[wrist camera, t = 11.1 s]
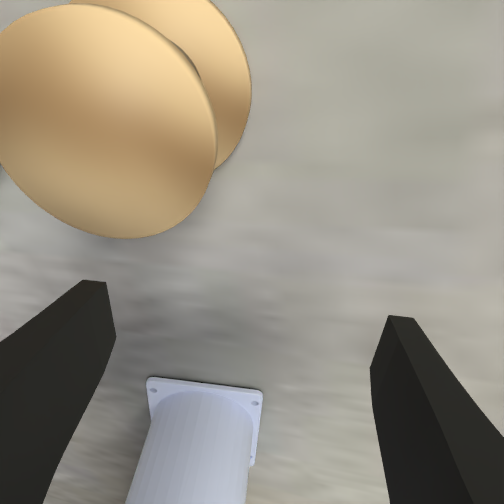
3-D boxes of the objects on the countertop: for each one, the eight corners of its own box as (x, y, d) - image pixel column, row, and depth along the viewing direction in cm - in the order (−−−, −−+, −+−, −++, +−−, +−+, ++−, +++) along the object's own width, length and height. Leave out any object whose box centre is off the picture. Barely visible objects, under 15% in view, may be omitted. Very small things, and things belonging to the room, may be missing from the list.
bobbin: (246, 184, 20) (226, 262, 15) (79, 167, 20) (6, 237, 15) (258, -20, 15) (235, -4, 10) (38, -37, 15) (-86, -31, 10)
